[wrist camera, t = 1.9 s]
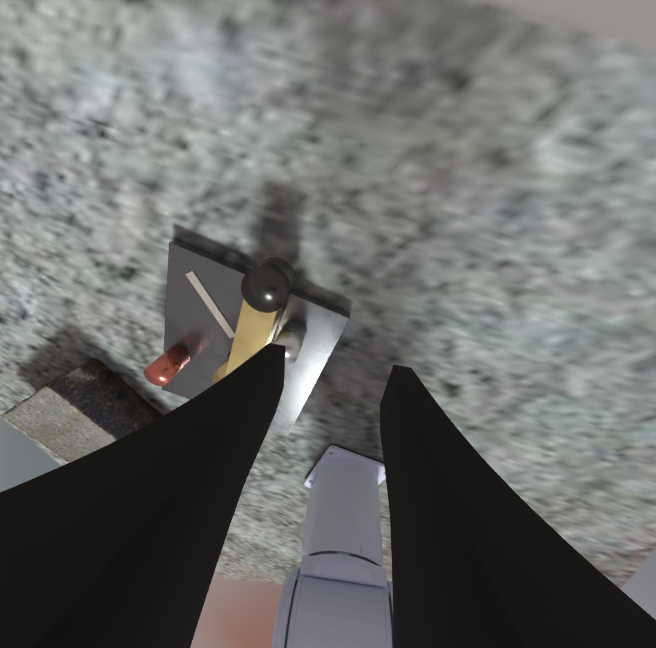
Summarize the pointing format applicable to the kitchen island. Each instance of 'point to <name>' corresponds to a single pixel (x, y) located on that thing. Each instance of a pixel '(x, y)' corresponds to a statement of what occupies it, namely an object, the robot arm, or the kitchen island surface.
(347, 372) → the kitchen island surface
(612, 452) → the kitchen island surface
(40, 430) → the stone block
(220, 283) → the crank base
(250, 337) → the crank lever
